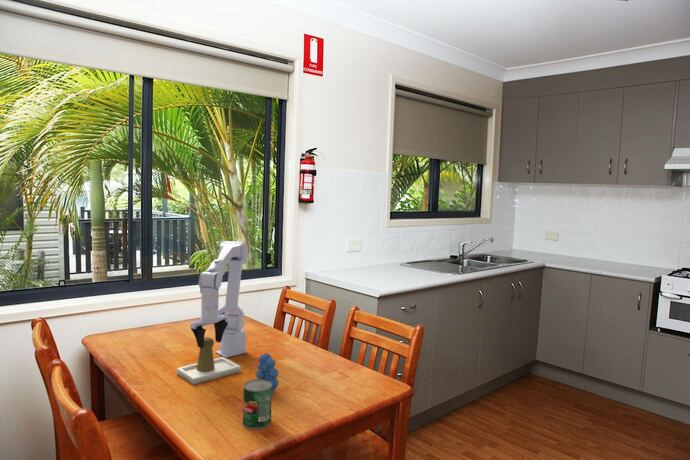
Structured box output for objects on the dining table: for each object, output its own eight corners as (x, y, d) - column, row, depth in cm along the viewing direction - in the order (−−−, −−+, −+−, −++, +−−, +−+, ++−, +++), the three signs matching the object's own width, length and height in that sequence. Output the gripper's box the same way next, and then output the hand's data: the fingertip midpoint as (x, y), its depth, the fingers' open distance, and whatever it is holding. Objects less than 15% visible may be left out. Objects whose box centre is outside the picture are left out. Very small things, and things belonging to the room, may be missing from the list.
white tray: (223, 362, 183) (223, 357, 183) (240, 371, 175) (240, 366, 174) (177, 373, 171) (177, 368, 170) (193, 384, 162) (193, 378, 162)
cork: (211, 372, 170) (212, 341, 170) (194, 371, 171) (194, 340, 170) (216, 365, 176) (217, 336, 176) (199, 365, 177) (200, 335, 176)
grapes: (247, 386, 162) (248, 351, 161) (266, 382, 166) (266, 348, 165) (263, 400, 152) (264, 362, 151) (282, 395, 156) (283, 358, 155)
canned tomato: (236, 425, 136) (237, 387, 135) (252, 413, 143) (252, 377, 142) (262, 431, 133) (262, 392, 132) (276, 419, 140) (277, 382, 139)
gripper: (219, 300, 179) (218, 337, 180) (185, 307, 167) (184, 346, 168) (232, 304, 174) (231, 341, 176) (198, 311, 163) (197, 351, 164)
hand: (209, 344), depth 172 cm, fingers open, 7 cm apart
